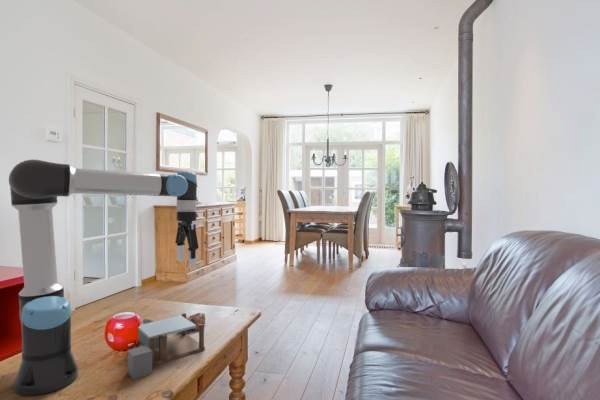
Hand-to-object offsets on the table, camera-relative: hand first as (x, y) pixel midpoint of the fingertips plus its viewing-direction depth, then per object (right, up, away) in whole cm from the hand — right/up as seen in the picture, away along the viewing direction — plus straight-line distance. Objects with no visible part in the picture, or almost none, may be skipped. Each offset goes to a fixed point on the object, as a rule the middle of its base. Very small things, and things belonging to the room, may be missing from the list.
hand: (186, 264), depth 144 cm
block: (-4, -27, -34) cm, 44 cm away
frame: (0, -27, -18) cm, 32 cm away
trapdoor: (-1, -23, -18) cm, 29 cm away
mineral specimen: (+2, -27, +3) cm, 27 cm away
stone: (-10, -27, -6) cm, 29 cm away
